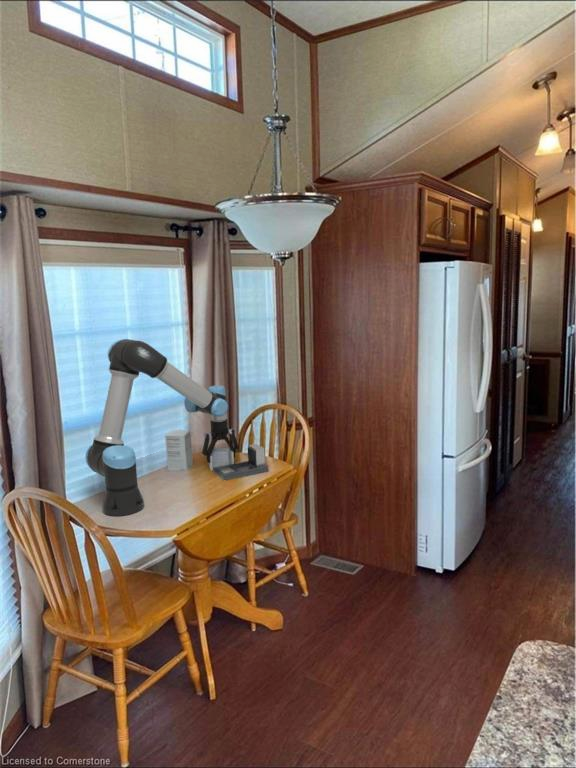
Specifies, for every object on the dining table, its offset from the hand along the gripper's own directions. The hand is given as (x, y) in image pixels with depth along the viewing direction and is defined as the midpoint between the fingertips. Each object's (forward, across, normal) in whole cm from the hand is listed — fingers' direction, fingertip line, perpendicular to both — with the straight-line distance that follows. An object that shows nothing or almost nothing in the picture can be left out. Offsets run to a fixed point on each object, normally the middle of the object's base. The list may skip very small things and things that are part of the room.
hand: (221, 467), depth 260 cm
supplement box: (0, +16, -11) cm, 19 cm away
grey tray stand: (0, -4, +12) cm, 12 cm away
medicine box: (0, 0, 0) cm, 0 cm away
